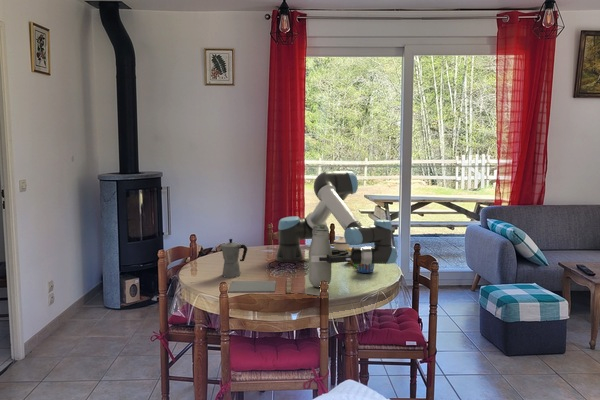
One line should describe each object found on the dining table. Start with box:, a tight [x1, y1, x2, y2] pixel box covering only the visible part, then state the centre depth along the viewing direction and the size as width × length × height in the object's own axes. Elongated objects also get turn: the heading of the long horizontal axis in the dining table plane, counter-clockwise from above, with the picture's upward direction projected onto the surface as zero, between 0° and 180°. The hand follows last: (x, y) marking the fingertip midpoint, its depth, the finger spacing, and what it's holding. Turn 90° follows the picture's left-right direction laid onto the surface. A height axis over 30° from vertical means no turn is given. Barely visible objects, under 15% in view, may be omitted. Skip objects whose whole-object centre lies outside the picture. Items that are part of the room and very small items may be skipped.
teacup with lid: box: [330, 235, 350, 250], centre depth 276 cm, size 12×9×12 cm
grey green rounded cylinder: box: [308, 224, 333, 288], centre depth 217 cm, size 10×10×28 cm
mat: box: [227, 280, 277, 293], centre depth 219 cm, size 16×20×1 cm
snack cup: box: [352, 263, 375, 274], centre depth 242 cm, size 16×10×10 cm
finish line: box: [285, 278, 292, 294], centre depth 218 cm, size 20×2×1 cm, turn 1°
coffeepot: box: [218, 238, 248, 278], centre depth 237 cm, size 15×9×18 cm, turn 68°
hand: (310, 255), depth 217 cm, fingers closed on grey green rounded cylinder, 10 cm apart
